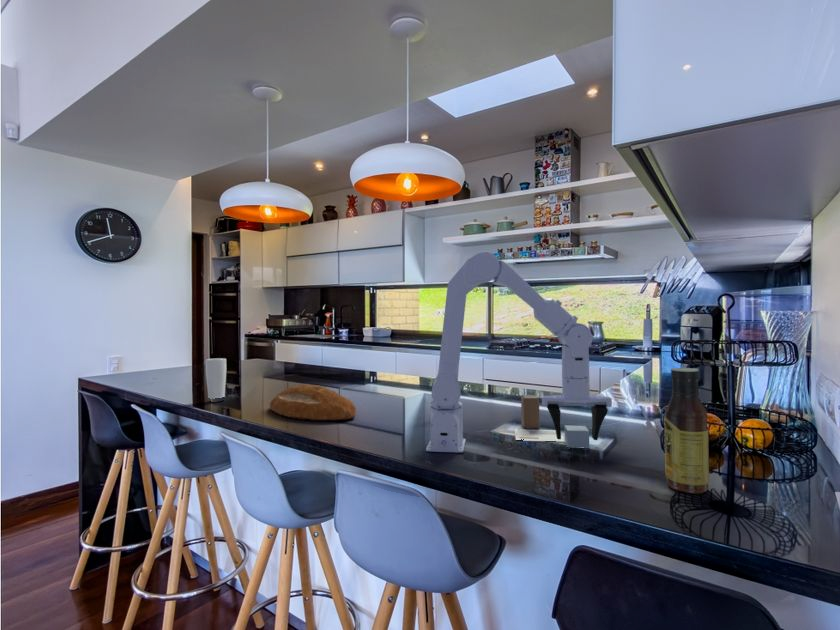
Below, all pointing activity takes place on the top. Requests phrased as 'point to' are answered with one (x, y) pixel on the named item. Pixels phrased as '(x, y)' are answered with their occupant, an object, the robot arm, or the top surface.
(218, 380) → the drinking glass
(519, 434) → the letter
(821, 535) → the top surface
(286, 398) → the bread
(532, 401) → the wooden block
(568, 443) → the slate cube
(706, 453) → the sauce bottle
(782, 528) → the top surface
